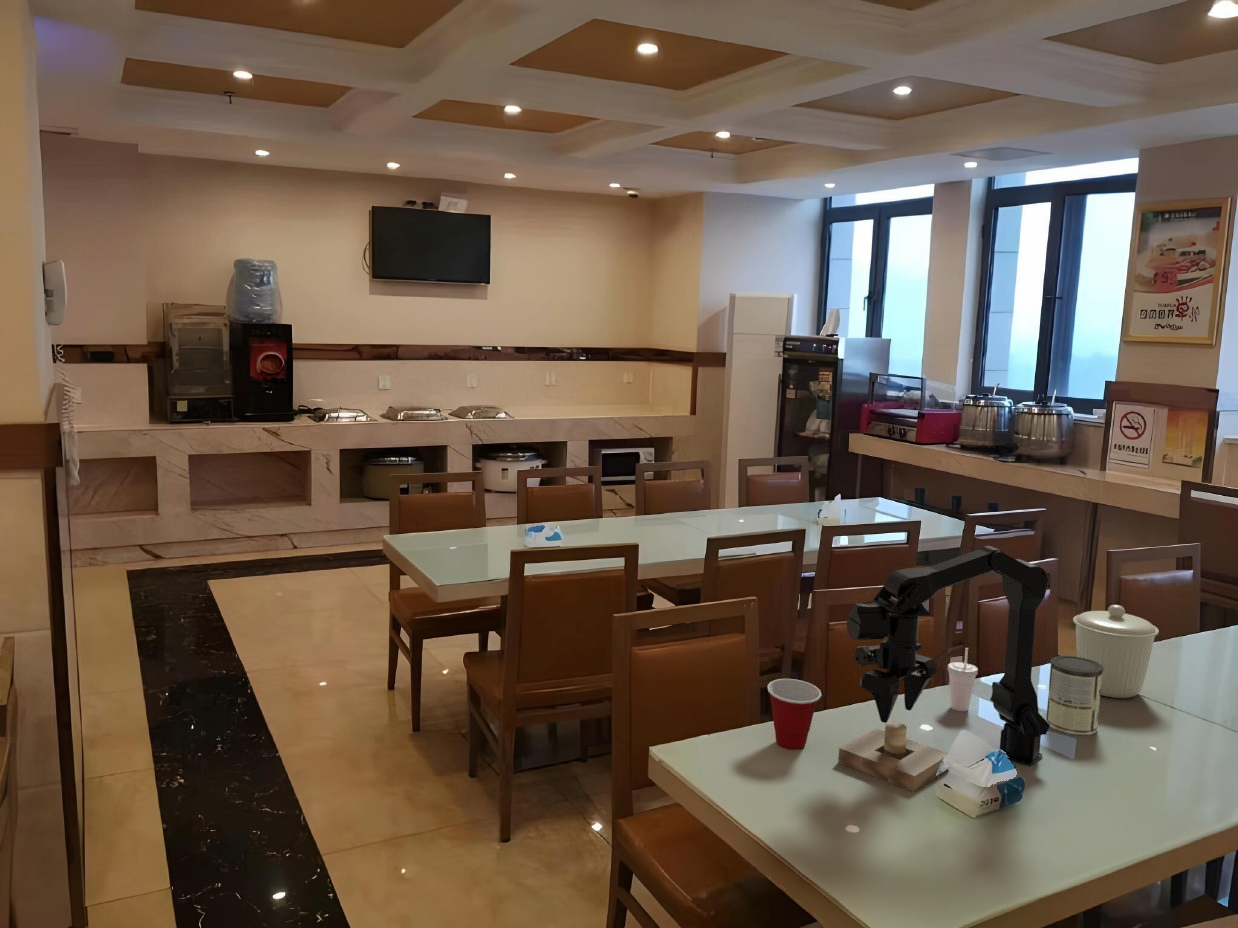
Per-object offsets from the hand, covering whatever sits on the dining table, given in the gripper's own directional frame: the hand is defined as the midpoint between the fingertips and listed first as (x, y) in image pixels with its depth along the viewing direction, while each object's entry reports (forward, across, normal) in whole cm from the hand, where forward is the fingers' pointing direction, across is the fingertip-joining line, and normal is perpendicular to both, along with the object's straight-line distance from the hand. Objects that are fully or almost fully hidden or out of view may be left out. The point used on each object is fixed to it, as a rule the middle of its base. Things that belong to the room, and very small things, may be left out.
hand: (896, 715), depth 185 cm
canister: (+10, -76, +14) cm, 78 cm away
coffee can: (+10, -47, +16) cm, 51 cm away
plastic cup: (+10, +7, -19) cm, 23 cm away
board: (+10, 0, 0) cm, 10 cm away
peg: (+10, 0, 0) cm, 10 cm away
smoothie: (+10, -38, -5) cm, 40 cm away
